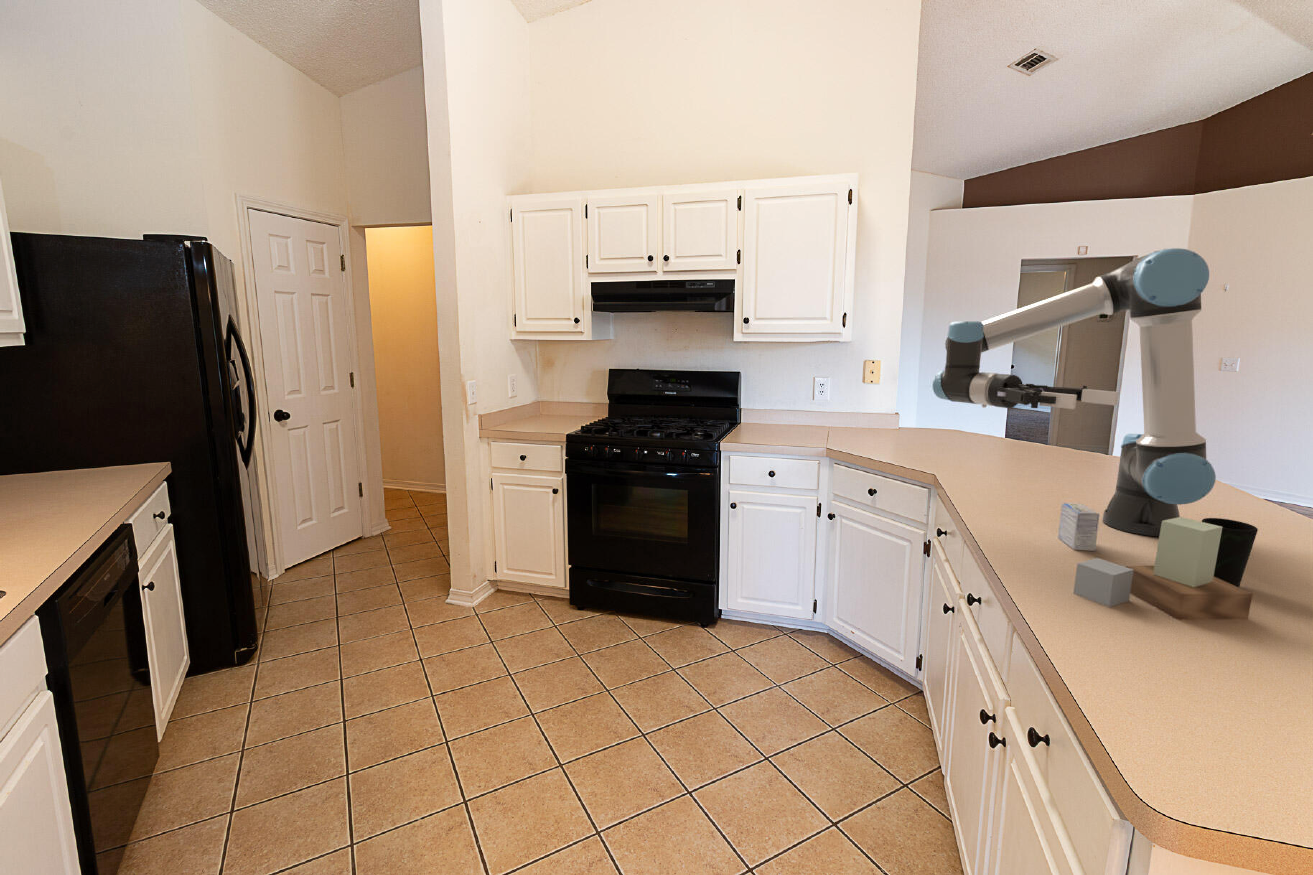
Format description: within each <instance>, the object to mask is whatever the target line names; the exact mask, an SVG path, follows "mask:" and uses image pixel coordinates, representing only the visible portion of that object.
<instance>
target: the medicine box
mask: <svg viewBox="0 0 1313 875" xmlns="http://www.w3.org/2000/svg"><path fill="white" fill-rule="evenodd" d="M1059 518H1060V519H1059V524H1058V532H1057V533H1058V535H1057V538H1058V539H1059V540H1060V541H1061V542H1063V543H1064V544H1066V545H1067V546H1068V547H1070V548H1071V549H1072V550H1074V551H1085V552H1087V551H1088V552H1095V551H1096V549H1097V538H1098V531H1099V521H1100V514H1099V513H1098V512H1097V511H1095V510H1094V509H1092V508H1090V507H1088V506H1087V505H1085V504H1082V503H1075V502H1073V503H1072V502H1069V503H1067V502H1065V503H1061V506H1060V517H1059Z"/></svg>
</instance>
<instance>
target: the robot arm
mask: <svg viewBox="0 0 1313 875" xmlns="http://www.w3.org/2000/svg"><path fill="white" fill-rule="evenodd" d="M1209 280H1210V269H1209V266H1208V263H1207V262H1206V260H1205V259H1204V258H1203V257H1202V256H1201V255H1199V253H1196V252H1195V251H1193V250H1190V249H1186V248H1179V247H1177V248H1174V247H1172V248H1163V249H1160V250H1156V251H1153V252H1151V253H1149V254H1146V255H1143V256H1140V257H1138V258H1135V259H1134V260H1132V261H1130V262H1128V263H1126V264H1124V265H1123V266H1121V267H1118V268H1116V269H1114V270H1112V271H1109V272H1107V273H1105V274H1102V275H1099V276H1096V277H1095V278H1094V280H1093V282H1091V283H1089V284H1086V285H1083V286H1081V287H1080V286H1079V287H1077V288H1074V289H1071V290H1068V291H1065V292H1062V293H1060V294H1057V295H1054V296H1052V297H1049V298H1046V299H1045V298H1044V300H1040V301H1037V302H1033V303H1031V304H1029V305H1026V306H1022V307H1020V308H1017V309H1014V310H1011V311H1008V312H1006V313H1003V314H999V315H997V316H994V317H991V318H989V319H986V320H983V321H977V320H975V321H970V320H969V321H952V322H950V323H949V326H948V331H947V337H946V340H945V343H944V344H945V350H946V357H945V359H946V360H945V365H944V366H945V367H944V369H942V370H940V371H938V372H937V373H936V374H935V375H934V376H935V378H934V379H933V380H932V391H933V393H934V395H935V396H936V397H937V398H939V399H941V400H945V401H951V402H952V403H953V402H956V403H964V404H965V403H966V404H972V405H973V404H974V405H981V408H987V406H992V407H993V406H994V407H997V408H1002V409H1003V408H1004V409H1012V408H1014V407H1016V406H1017V405H1018V404H1020V405H1023V406H1029V405H1030V408H1031V409H1038V406H1044V407H1052V408H1060V409H1061V408H1062V409H1067V410H1075V409H1076V405H1077V402H1079V401H1080V402H1082V403H1087V404H1088V403H1089V404H1098V405H1106V406H1107V405H1109V406H1118V398H1119V391H1112V390H1110V391H1109V390H1103V389H1102V390H1100V389H1091V388H1090V389H1089V388H1088V387H1087V385H1082V388H1081V387H1064V386H1063V387H1062V386H1061V387H1060V386H1048V385H1042V384H1034V383H1024V384H1023V381H1022V379H1021V378H1020V377H1019V376H1018V375H1015V374H1006V373H998V372H997V373H996V372H995V373H994V372H993V373H992V372H985V371H984V372H982V371H981V372H980V367H981V357H982V356H981V355H982V353H985V352H987V351H989V350H990V351H991V350H993V349H996V348H999V347H1002V346H1006V345H1008V344H1012V343H1014V342H1017V341H1021V340H1024V339H1026V338H1030V337H1033V336H1036V335H1040V334H1043V333H1046V332H1048V331H1051V330H1055V329H1059V328H1061V327H1064V326H1067V325H1071V324H1073V323H1076V322H1079V321H1082V320H1086V319H1088V318H1089V319H1090V318H1092V317H1095V316H1098V315H1102V314H1105V315H1108V316H1111V315H1114V314H1117V313H1120V312H1125V311H1126V312H1127V311H1129V315H1130V317H1129V318H1130V320H1131V321H1133V322H1134V323H1135V324H1137V325H1138V326H1139V339H1140V340H1139V344H1140V363H1141V364H1140V366H1141V383H1142V384H1141V386H1142V387H1141V388H1142V390H1141V391H1142V406H1143V407H1142V408H1143V409H1142V410H1143V430H1144V431H1143V434H1141V433H1127V434H1126V435H1124V437H1123V439H1122V443H1121V445H1120V448H1121V449H1120V450H1121V452H1120V457H1119V463H1118V464H1119V465H1118V472H1117V479H1116V487H1115V492H1114V493H1113V496H1112V497H1111V499H1110V501H1109V503H1108V505H1107V507H1106V509H1105V510H1104V511H1103V516H1102V523H1104V524H1105V525H1107V526H1108V527H1111V528H1114V529H1116V530H1120V531H1123V532H1128V533H1130V534H1131V533H1133V534H1136V535H1142V536H1143V535H1144V536H1148V537H1149V536H1150V537H1159V536H1160V530H1161V524H1162V521H1164V520H1169V519H1173V518H1178V517H1181V514H1180V510H1179V507H1178V505H1188V504H1192V503H1195V502H1196V503H1197V502H1198V501H1200V500H1202V499H1204V497H1206V496H1207V495H1209V493H1211V491H1212V490H1213V488H1214V487H1215V484H1216V480H1217V479H1216V478H1217V477H1216V476H1217V475H1216V472H1215V469H1214V467H1213V465H1212V464H1211V463H1210V461H1209V460H1208V459H1207V440H1206V438H1204V436H1202V435H1201V434H1199V433H1198V432H1197V428H1196V427H1197V425H1196V424H1197V423H1196V399H1195V397H1196V396H1195V394H1196V393H1195V371H1194V370H1195V366H1194V363H1195V362H1194V341H1193V339H1194V337H1193V319H1194V318H1195V317H1196V316H1197V315H1198V314H1199V313H1200V312H1202V293H1203V292H1204V290H1205V288H1206V287H1207V285H1208V284H1209Z"/></svg>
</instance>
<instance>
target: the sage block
mask: <svg viewBox="0 0 1313 875" xmlns="http://www.w3.org/2000/svg"><path fill="white" fill-rule="evenodd" d="M1221 533H1222V527H1221V526H1217V525H1213V524H1208V523H1204V522H1202V521H1200V520H1195V519H1190V518H1187V517H1182V516H1180V517H1178V518H1173V519H1169V520H1164V521H1162V524H1161V530H1160V536H1158V543H1157V548H1156V556H1155V561H1154V565H1153V566H1154V572H1153V575H1157V576H1160V577H1163V578H1166V579H1169V580H1172V581H1175V582H1178V583H1182V584H1185V585H1188V586H1191V587H1197V586H1200V585H1203V584H1207V583H1210V582H1212V581H1213V576H1214V570H1215V565H1216V560H1217V554H1218V549H1219V543H1220V538H1221Z"/></svg>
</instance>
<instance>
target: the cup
mask: <svg viewBox="0 0 1313 875" xmlns="http://www.w3.org/2000/svg"><path fill="white" fill-rule="evenodd" d="M1201 522H1204V523H1208V524H1213V525H1217V526H1221V527H1222V533H1221V538H1220V543H1219V549H1218V554H1217V560H1216V565H1215V570H1214V577H1216V578H1219V579H1221V580H1223V581H1225V582H1228V583H1230V584H1232V585H1234V586H1236V587H1239V588H1240V585H1241V582H1242V580H1243V579H1242V578H1243V577H1244V573H1245V570H1246V566H1247V564H1248V561H1249V559H1250V556H1251V551H1252V549H1253V545H1254V543H1255V540H1256V537H1257V535H1258V531H1259V529H1258V527H1257V526H1255V525H1252V524H1249V523H1247V522H1243V521H1239V520H1233V519H1228V518H1220V517H1219V518H1218V517H1217V518H1216V517H1205V518H1203V519H1201Z"/></svg>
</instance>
